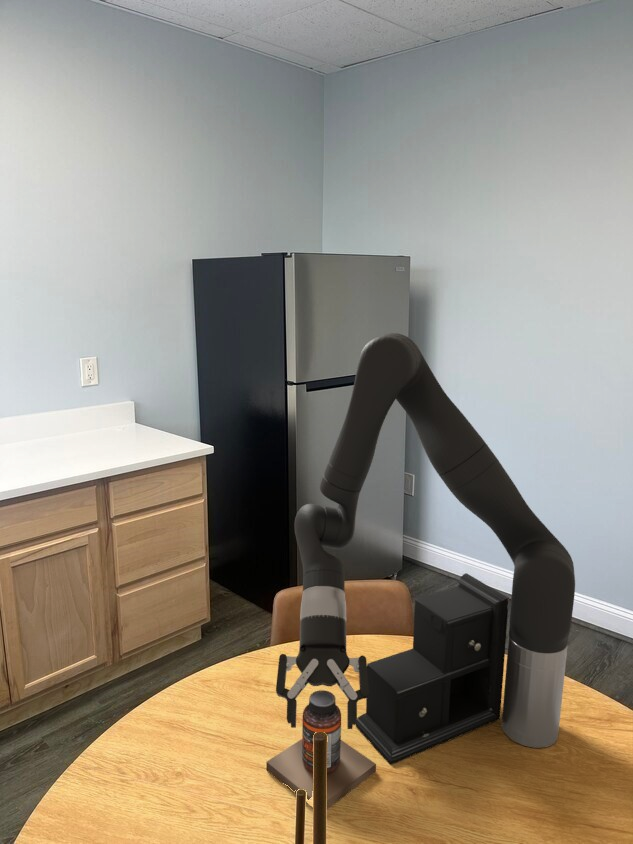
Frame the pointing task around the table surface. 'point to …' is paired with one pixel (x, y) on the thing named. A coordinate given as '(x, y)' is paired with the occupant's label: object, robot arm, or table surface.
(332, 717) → the supplement bottle
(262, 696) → the table surface
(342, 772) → the brown flat square block
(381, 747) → the black drawer cabinet
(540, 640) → the robot arm
